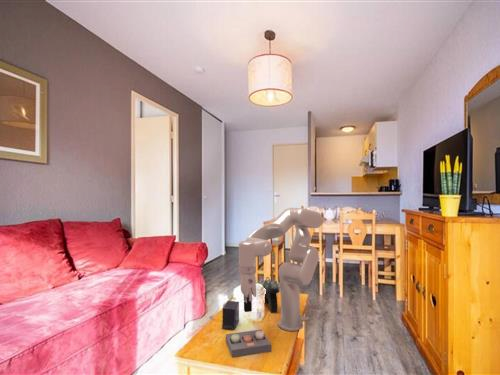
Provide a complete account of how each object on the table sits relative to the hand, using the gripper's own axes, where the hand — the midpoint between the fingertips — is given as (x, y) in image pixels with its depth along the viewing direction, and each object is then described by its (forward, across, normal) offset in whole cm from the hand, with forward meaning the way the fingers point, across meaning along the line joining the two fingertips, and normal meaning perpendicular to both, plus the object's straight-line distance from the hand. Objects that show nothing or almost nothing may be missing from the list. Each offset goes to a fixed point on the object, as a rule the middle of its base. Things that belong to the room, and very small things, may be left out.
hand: (247, 310), depth 124 cm
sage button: (+12, 0, +6) cm, 14 cm away
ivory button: (+13, 0, -5) cm, 14 cm away
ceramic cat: (+16, +38, -23) cm, 47 cm away
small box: (+15, +22, +3) cm, 27 cm away
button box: (+15, 0, 0) cm, 15 cm away
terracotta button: (+14, 0, 0) cm, 14 cm away
